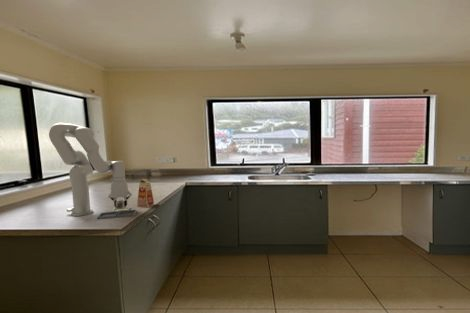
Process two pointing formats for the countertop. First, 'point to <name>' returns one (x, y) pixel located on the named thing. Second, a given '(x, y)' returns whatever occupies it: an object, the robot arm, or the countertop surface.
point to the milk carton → (145, 194)
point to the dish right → (127, 213)
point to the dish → (121, 209)
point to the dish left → (108, 215)
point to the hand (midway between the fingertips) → (120, 206)
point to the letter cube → (120, 204)
